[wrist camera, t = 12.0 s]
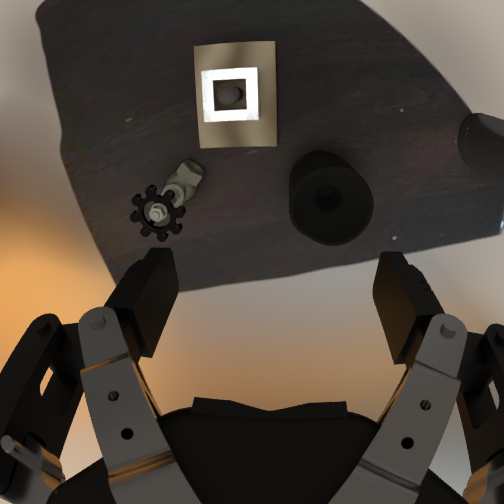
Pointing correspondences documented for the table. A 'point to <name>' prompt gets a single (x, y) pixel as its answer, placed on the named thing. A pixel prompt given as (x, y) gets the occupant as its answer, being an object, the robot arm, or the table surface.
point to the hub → (214, 107)
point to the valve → (168, 201)
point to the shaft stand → (238, 94)
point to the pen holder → (328, 199)
